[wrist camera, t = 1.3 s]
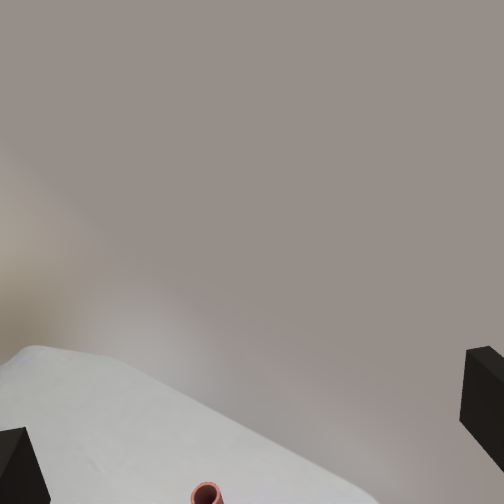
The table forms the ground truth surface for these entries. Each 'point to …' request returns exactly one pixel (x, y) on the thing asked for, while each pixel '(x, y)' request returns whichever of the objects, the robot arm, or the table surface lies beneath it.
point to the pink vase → (206, 494)
